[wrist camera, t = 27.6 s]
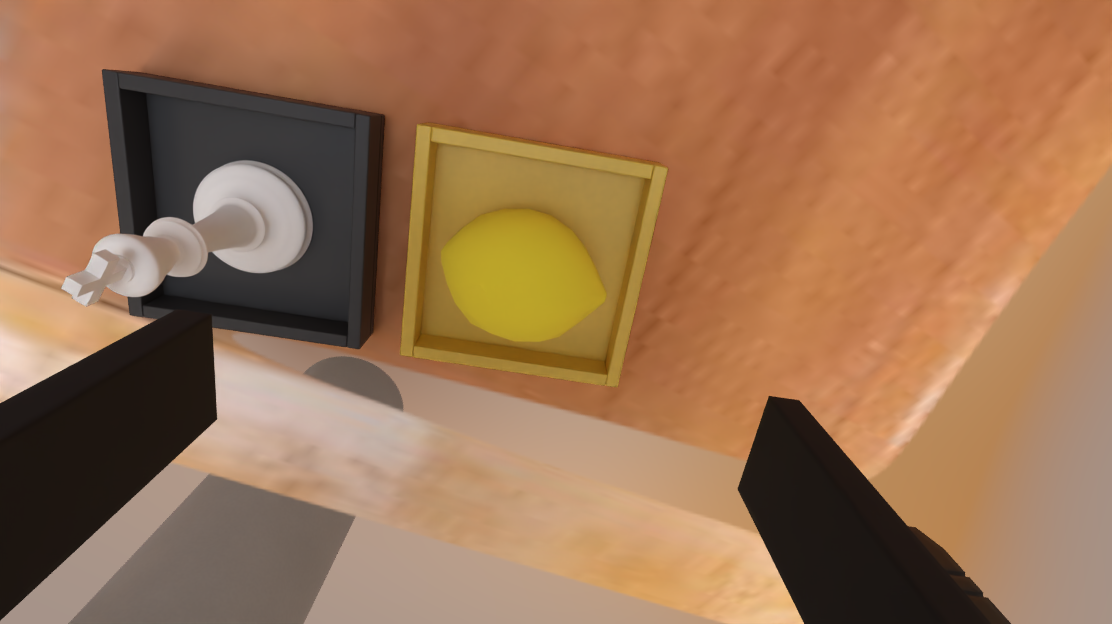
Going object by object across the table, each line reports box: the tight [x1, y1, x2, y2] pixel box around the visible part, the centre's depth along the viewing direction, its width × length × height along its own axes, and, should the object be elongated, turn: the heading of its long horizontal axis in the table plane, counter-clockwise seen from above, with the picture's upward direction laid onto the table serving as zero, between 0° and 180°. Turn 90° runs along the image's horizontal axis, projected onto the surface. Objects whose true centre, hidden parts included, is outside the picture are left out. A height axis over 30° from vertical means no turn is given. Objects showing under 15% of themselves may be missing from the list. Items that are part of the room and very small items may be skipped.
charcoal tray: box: [102, 69, 385, 349], centre depth 24 cm, size 10×10×2 cm
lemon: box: [441, 209, 607, 342], centre depth 23 cm, size 7×5×5 cm
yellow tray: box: [400, 123, 668, 387], centre depth 25 cm, size 10×10×2 cm
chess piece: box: [61, 160, 313, 307], centre depth 20 cm, size 5×5×10 cm
